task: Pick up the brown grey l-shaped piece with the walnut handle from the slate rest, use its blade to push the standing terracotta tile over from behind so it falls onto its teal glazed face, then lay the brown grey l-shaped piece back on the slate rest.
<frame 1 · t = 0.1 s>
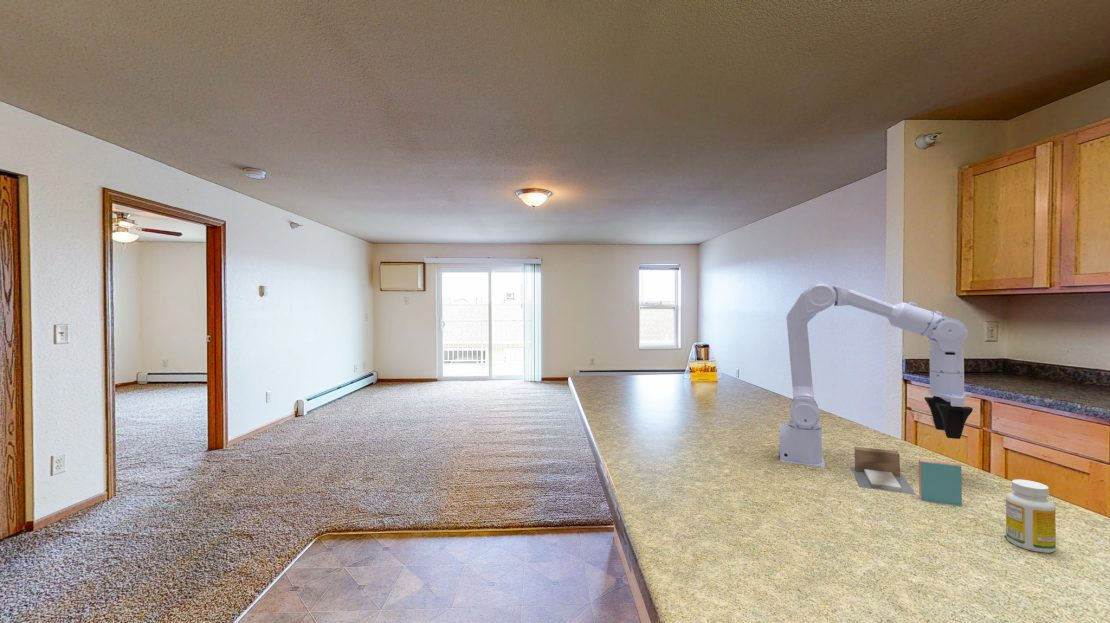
hand: (947, 433, 98), 10 cm above the counter, tool pointing down, fingers open, 7 cm apart
supplement bottle: (1030, 546, 70), on the counter
brown grey l-shaped piece: (880, 478, 98), point 1 cm above the counter, touching tool rest
tile: (940, 504, 86), on the counter
tool rest: (880, 482, 97), on the counter
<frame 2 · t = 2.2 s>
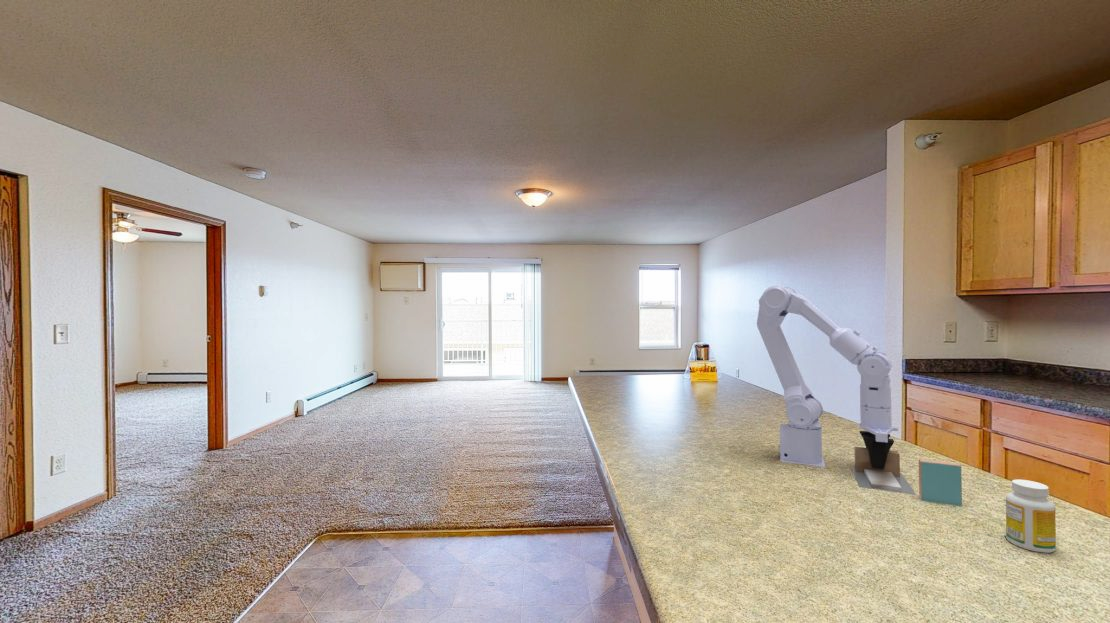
hand: (876, 466, 101), 2 cm above the counter, tool pointing down, fingers closed on brown grey l-shaped piece, 2 cm apart
brown grey l-shaped piece: (880, 478, 98), point 1 cm above the counter, touching gripper, tool rest
everything else where it was.
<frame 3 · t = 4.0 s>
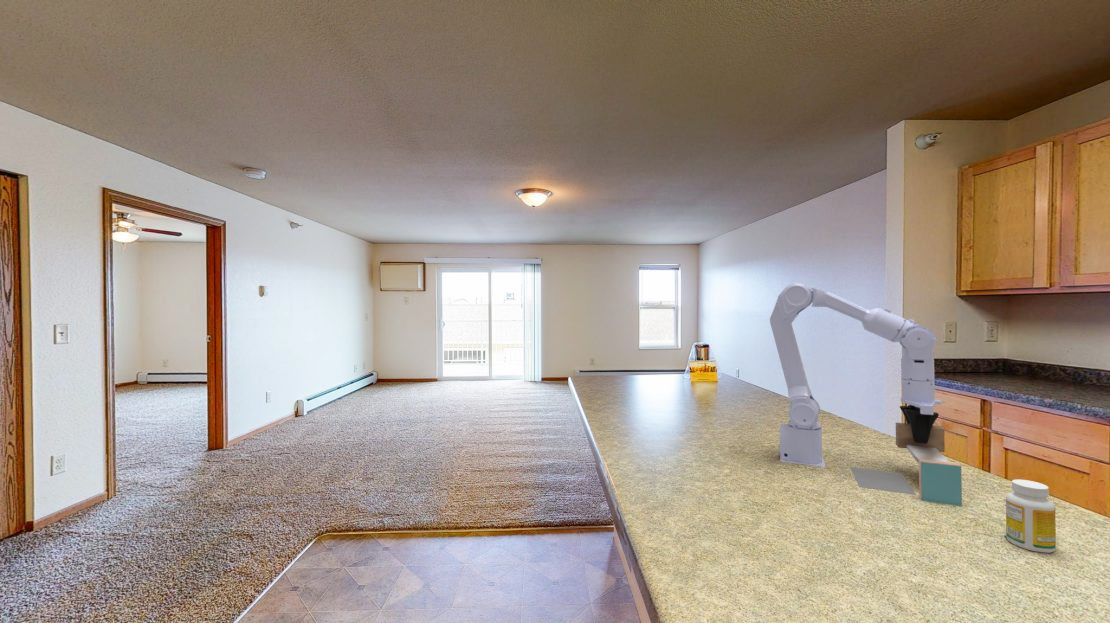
hand: (919, 441, 99), 8 cm above the counter, tool pointing down, fingers closed on brown grey l-shaped piece, 2 cm apart
brown grey l-shaped piece: (924, 453, 95), point 7 cm above the counter, touching gripper
everything else where it was.
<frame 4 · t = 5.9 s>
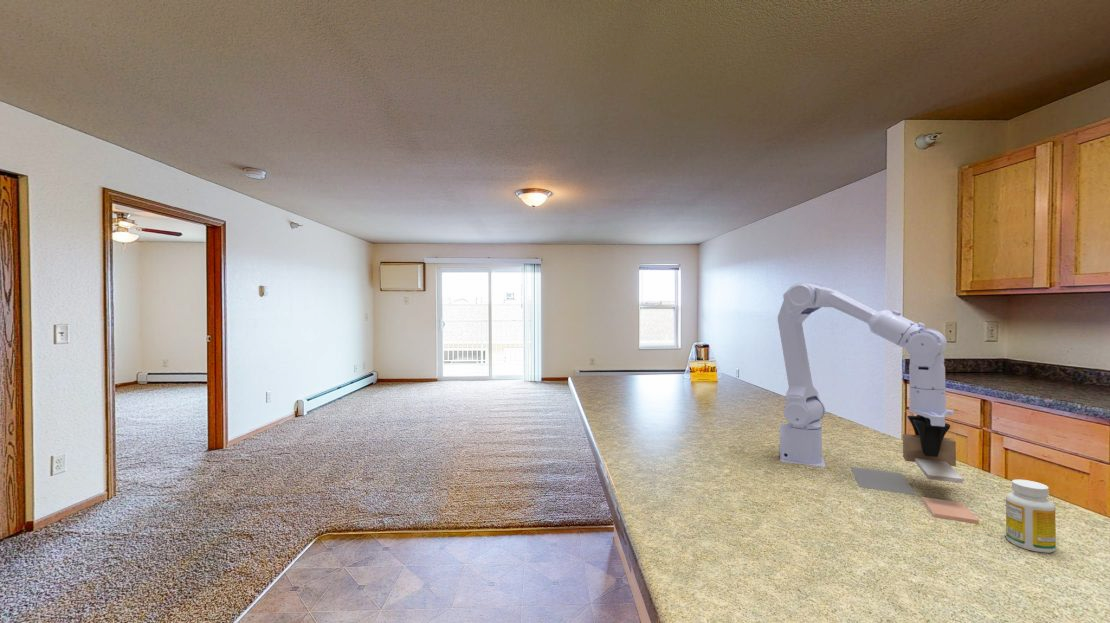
hand: (928, 453, 92), 8 cm above the counter, tool pointing down, fingers closed on brown grey l-shaped piece, 2 cm apart
brown grey l-shaped piece: (934, 468, 89), point 6 cm above the counter, touching gripper
tile: (942, 503, 85), on the counter, tilted 90°
everything else where it was.
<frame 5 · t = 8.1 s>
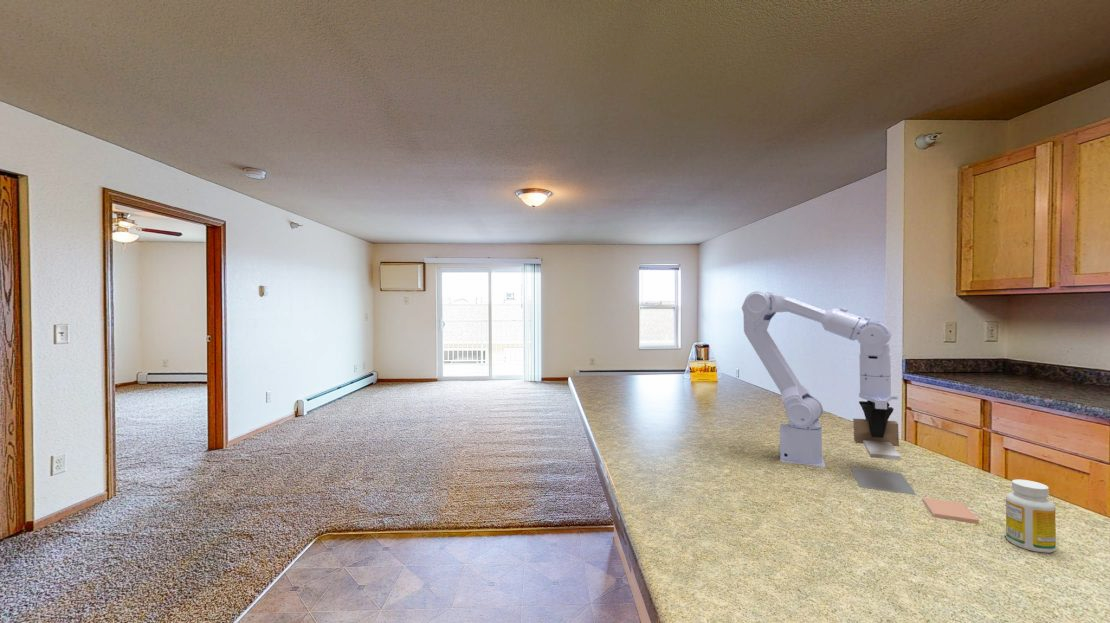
hand: (876, 435, 101), 9 cm above the counter, tool pointing down, fingers closed on brown grey l-shaped piece, 2 cm apart
brown grey l-shaped piece: (879, 448, 98), point 7 cm above the counter, touching gripper
everything else where it was.
when the fingers open (3 cm above the counter, at t = 9.8 s): brown grey l-shaped piece stays where it is, resting on tool rest.
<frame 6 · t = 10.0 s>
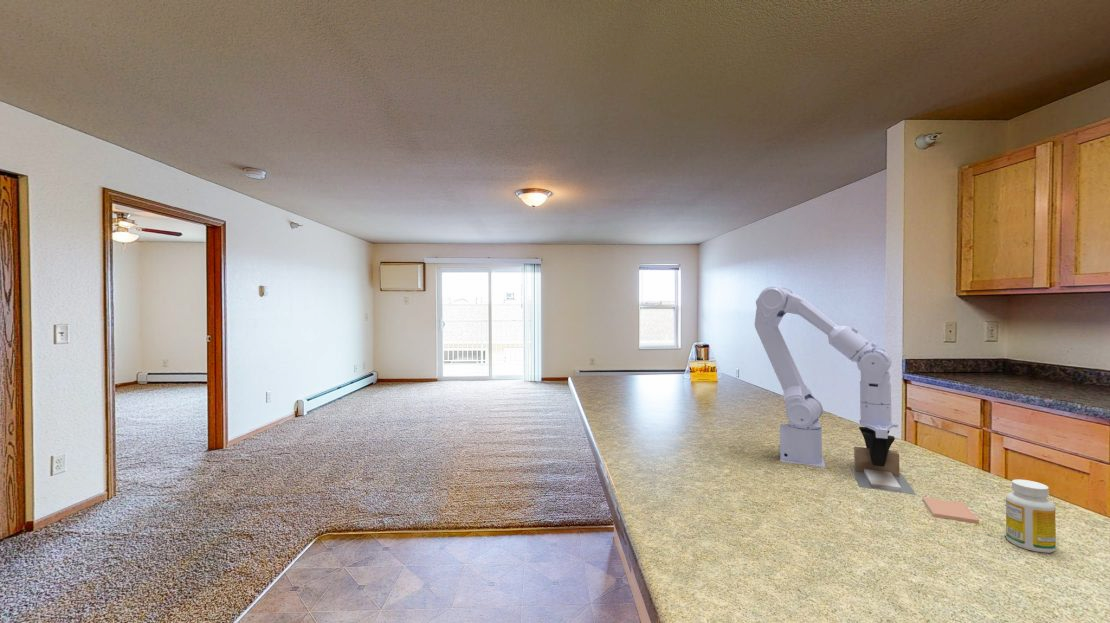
hand: (876, 462, 101), 3 cm above the counter, tool pointing down, fingers open, 4 cm apart
brown grey l-shaped piece: (879, 478, 98), point 1 cm above the counter, touching tool rest
everything else where it was.
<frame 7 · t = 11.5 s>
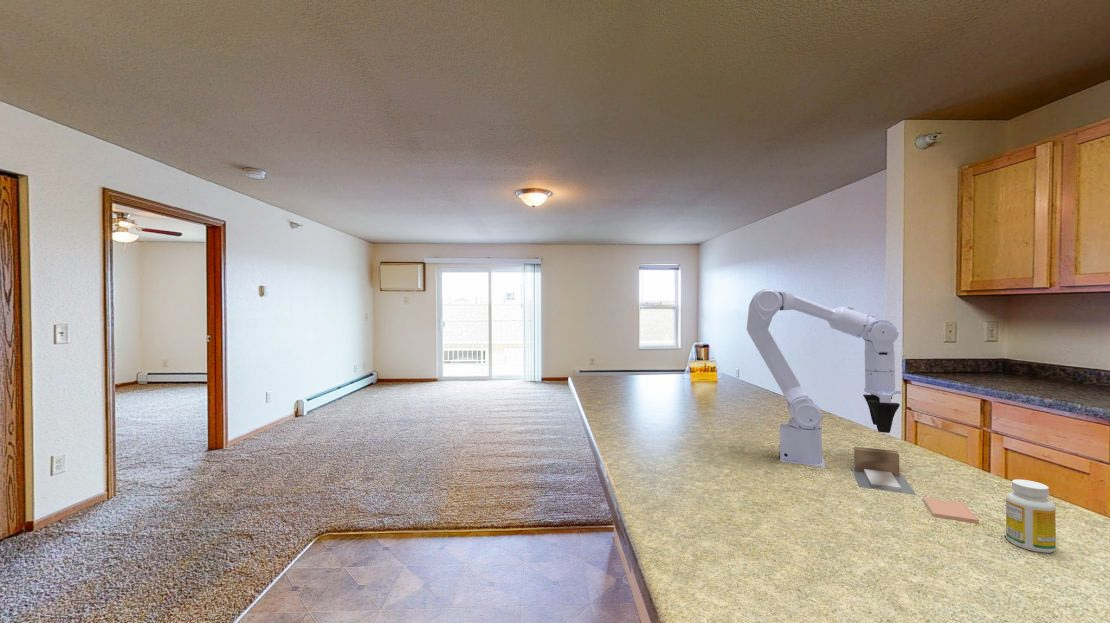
hand: (881, 428, 105), 9 cm above the counter, tool pointing down, fingers open, 7 cm apart
nothing on the counter moved.
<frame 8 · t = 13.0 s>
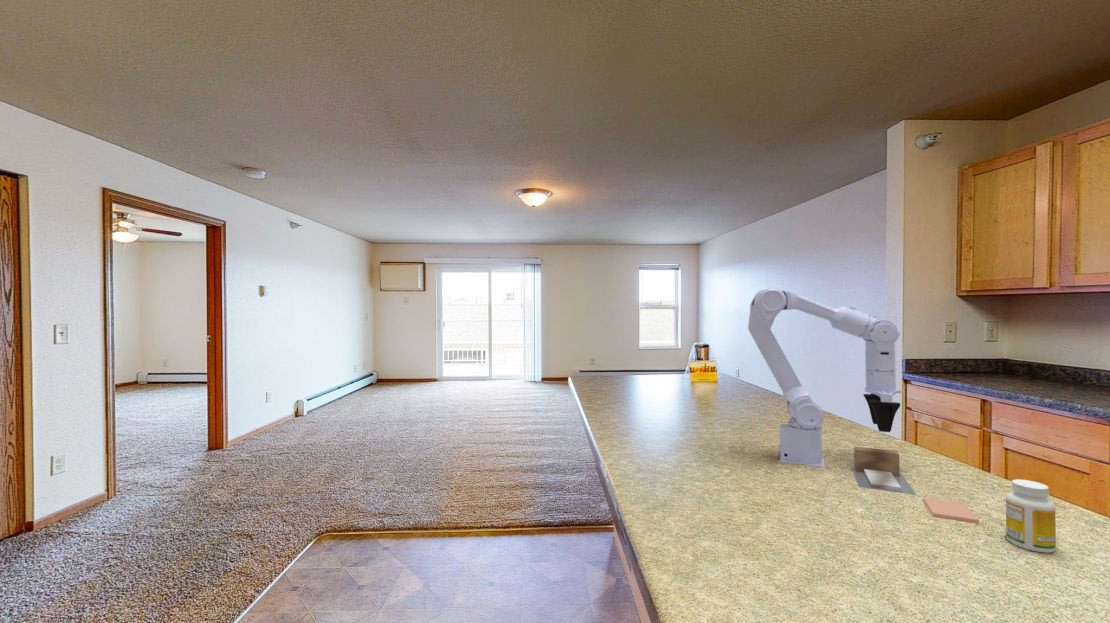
hand: (881, 427, 106), 9 cm above the counter, tool pointing down, fingers open, 7 cm apart
nothing on the counter moved.
at the end: tile tilted 90°; brown grey l-shaped piece 0.1 cm from the target spot on the tool rest, point 0.6 cm above the tool rest's base; the gripper is holding nothing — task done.
